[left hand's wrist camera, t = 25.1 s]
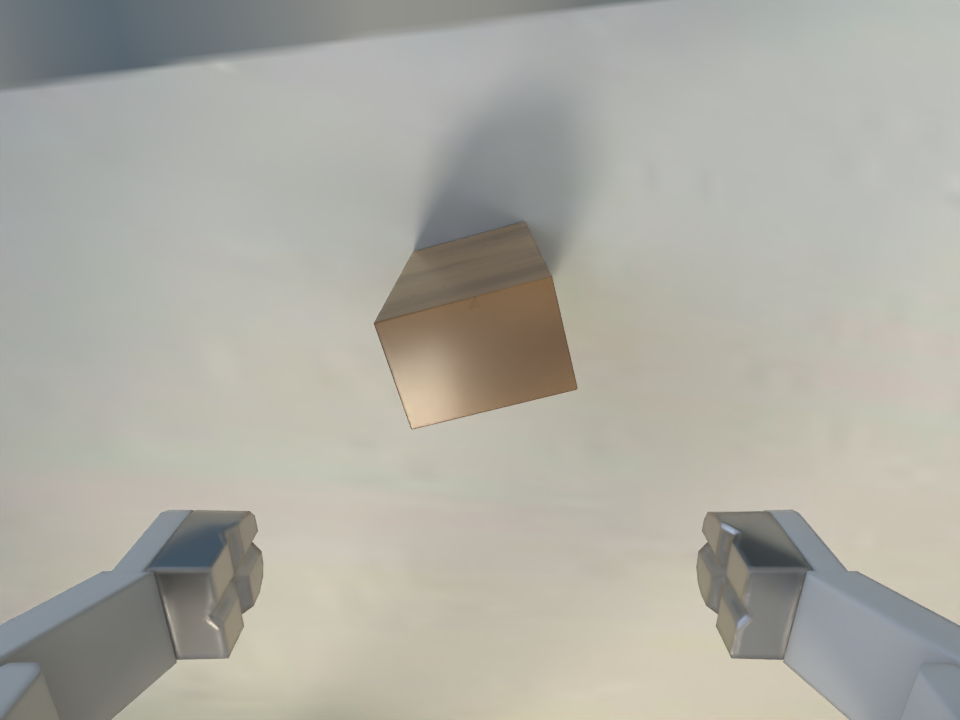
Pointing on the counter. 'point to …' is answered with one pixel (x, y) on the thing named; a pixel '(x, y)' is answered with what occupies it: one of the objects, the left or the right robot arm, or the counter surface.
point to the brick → (474, 328)
